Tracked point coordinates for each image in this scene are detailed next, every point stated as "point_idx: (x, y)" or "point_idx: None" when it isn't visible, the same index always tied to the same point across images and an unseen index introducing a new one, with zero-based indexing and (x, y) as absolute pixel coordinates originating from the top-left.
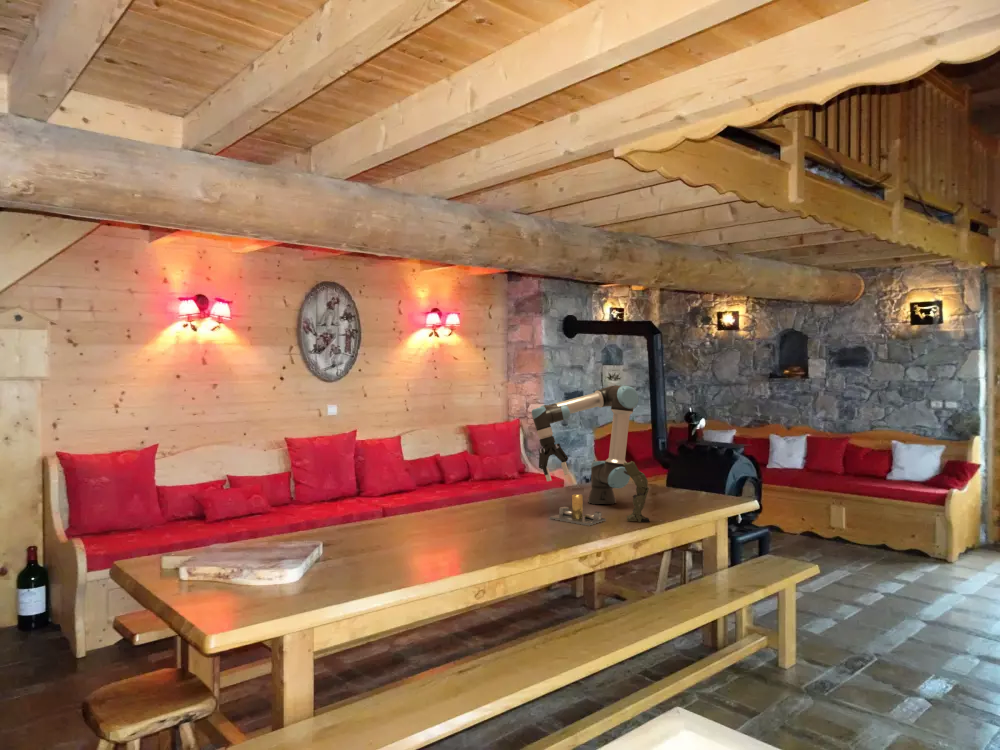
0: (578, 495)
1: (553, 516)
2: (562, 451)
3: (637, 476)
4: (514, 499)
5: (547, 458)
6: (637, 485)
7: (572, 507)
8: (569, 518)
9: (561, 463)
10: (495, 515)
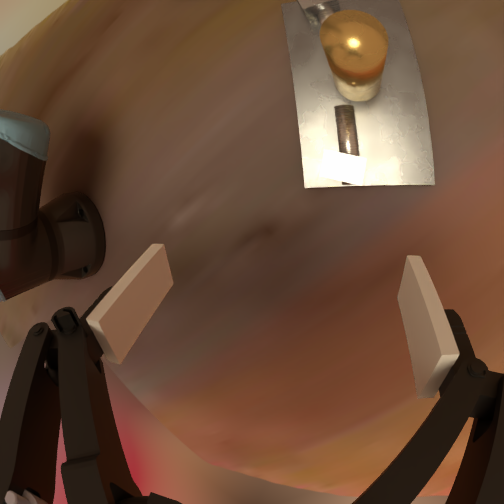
0: (359, 23)
1: (417, 176)
2: (14, 415)
3: None
4: (226, 453)
5: (409, 483)
6: None
7: (381, 76)
8: (396, 95)
9: (121, 355)
10: None
